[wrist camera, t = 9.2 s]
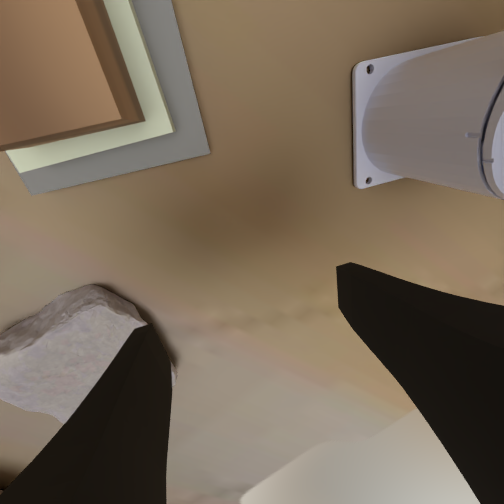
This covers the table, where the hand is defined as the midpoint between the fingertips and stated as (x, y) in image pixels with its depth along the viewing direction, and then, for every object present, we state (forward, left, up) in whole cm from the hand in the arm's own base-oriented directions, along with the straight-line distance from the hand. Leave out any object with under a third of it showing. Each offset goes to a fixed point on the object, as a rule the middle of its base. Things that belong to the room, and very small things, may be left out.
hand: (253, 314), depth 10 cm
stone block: (+12, +8, -11) cm, 18 cm away
